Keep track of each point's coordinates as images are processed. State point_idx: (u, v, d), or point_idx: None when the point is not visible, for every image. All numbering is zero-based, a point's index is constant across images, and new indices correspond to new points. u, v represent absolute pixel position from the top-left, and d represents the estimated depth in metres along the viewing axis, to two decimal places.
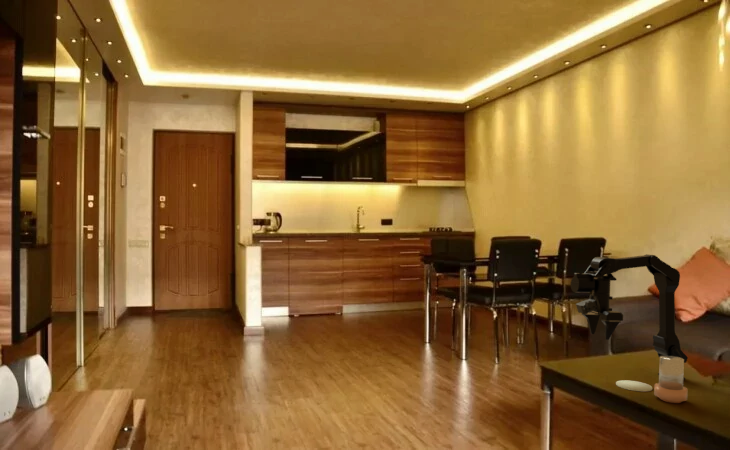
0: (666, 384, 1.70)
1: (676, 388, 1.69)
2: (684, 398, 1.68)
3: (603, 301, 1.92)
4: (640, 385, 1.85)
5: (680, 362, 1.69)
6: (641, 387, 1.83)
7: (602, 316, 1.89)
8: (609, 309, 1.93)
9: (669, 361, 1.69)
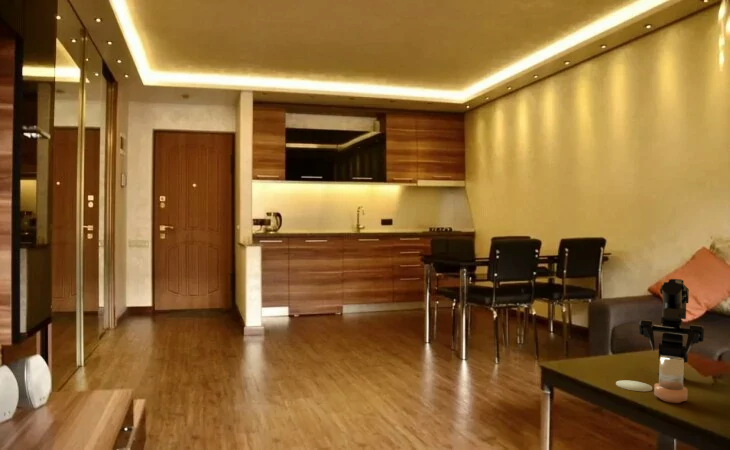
0: (666, 384, 1.70)
1: (676, 388, 1.69)
2: (684, 398, 1.68)
3: None
4: (640, 385, 1.85)
5: (680, 362, 1.69)
6: (641, 387, 1.83)
7: (693, 327, 1.79)
8: None
9: (669, 361, 1.69)
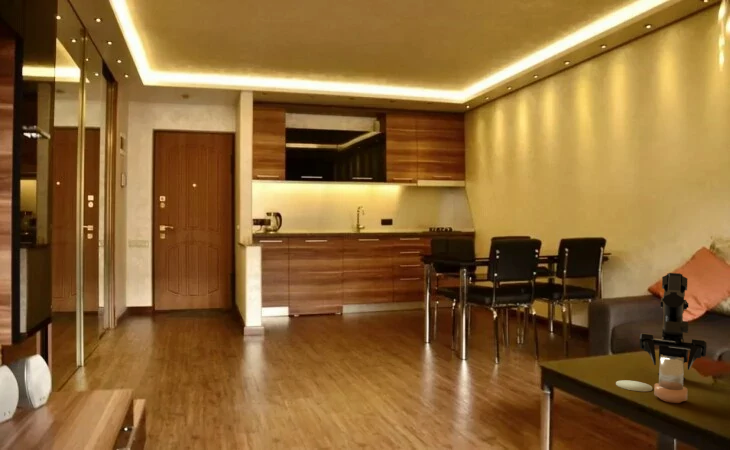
0: (666, 384, 1.70)
1: (676, 388, 1.69)
2: (684, 398, 1.68)
3: None
4: (640, 385, 1.85)
5: (680, 362, 1.69)
6: (641, 387, 1.83)
7: (695, 341, 1.73)
8: None
9: (669, 361, 1.69)
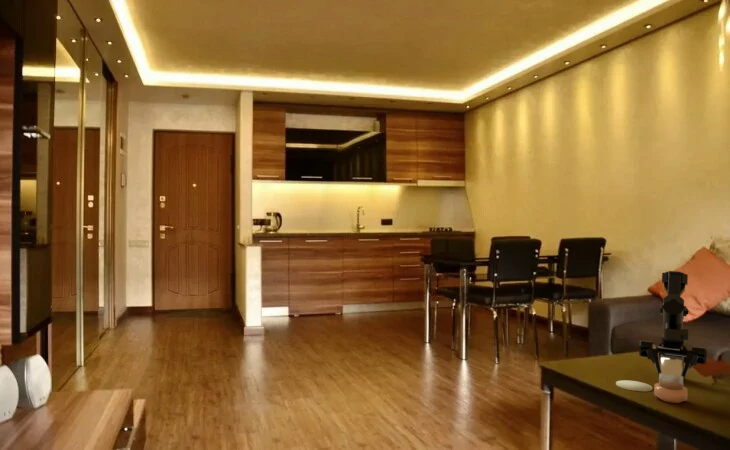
0: (666, 384, 1.70)
1: (676, 388, 1.69)
2: (684, 398, 1.68)
3: None
4: (640, 385, 1.85)
5: (680, 362, 1.69)
6: (641, 387, 1.83)
7: (695, 349, 1.71)
8: None
9: (669, 361, 1.69)
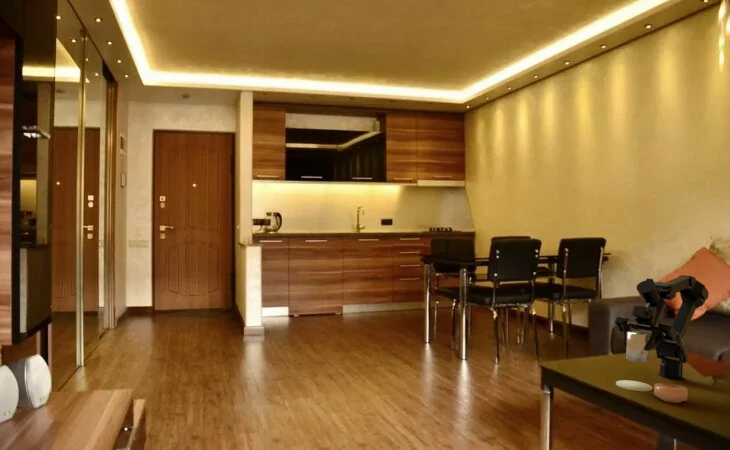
0: (628, 356, 1.83)
1: (637, 360, 1.81)
2: (684, 398, 1.68)
3: (657, 318, 1.86)
4: (640, 385, 1.85)
5: (641, 336, 1.81)
6: (641, 387, 1.83)
7: (660, 326, 1.80)
8: None
9: (631, 334, 1.83)
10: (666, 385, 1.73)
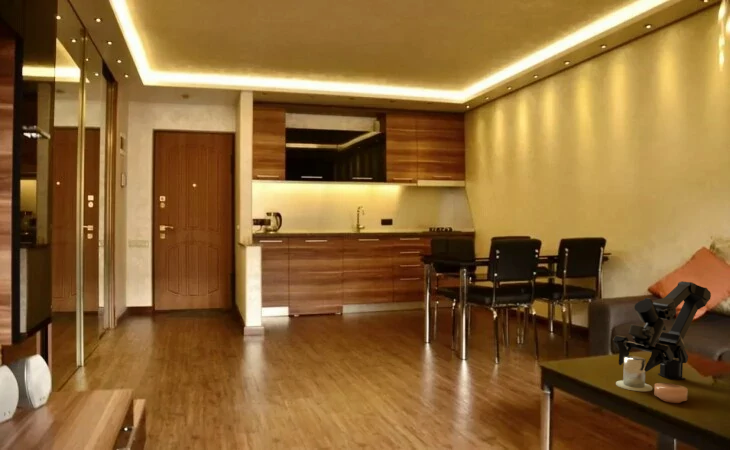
0: (625, 381, 1.85)
1: (633, 385, 1.82)
2: (684, 398, 1.68)
3: (654, 338, 1.87)
4: None
5: (637, 362, 1.82)
6: None
7: (657, 346, 1.81)
8: None
9: (627, 360, 1.84)
10: (666, 385, 1.73)
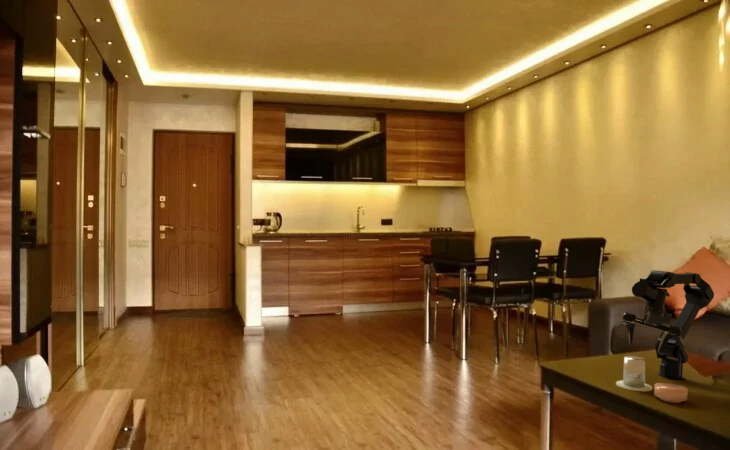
0: (625, 381, 1.85)
1: (633, 385, 1.82)
2: (684, 398, 1.68)
3: None
4: None
5: (637, 362, 1.82)
6: None
7: (672, 330, 1.88)
8: None
9: (627, 360, 1.84)
10: (666, 385, 1.73)
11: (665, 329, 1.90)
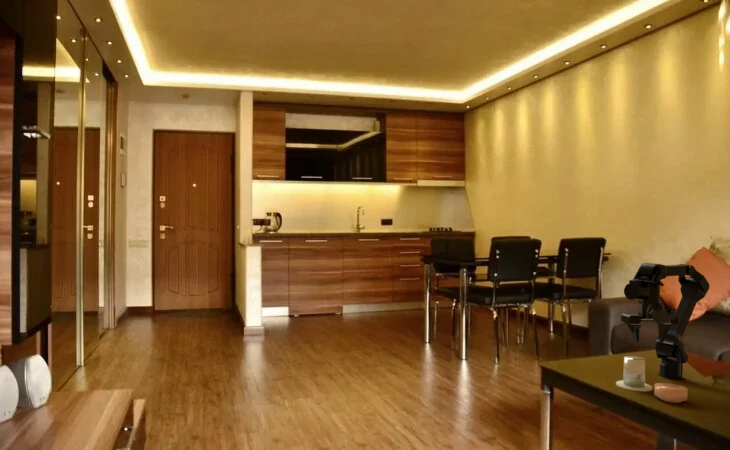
0: (625, 381, 1.85)
1: (633, 385, 1.82)
2: (684, 398, 1.68)
3: None
4: None
5: (637, 362, 1.82)
6: None
7: (672, 321, 1.91)
8: None
9: (627, 360, 1.84)
10: (666, 385, 1.73)
11: None
